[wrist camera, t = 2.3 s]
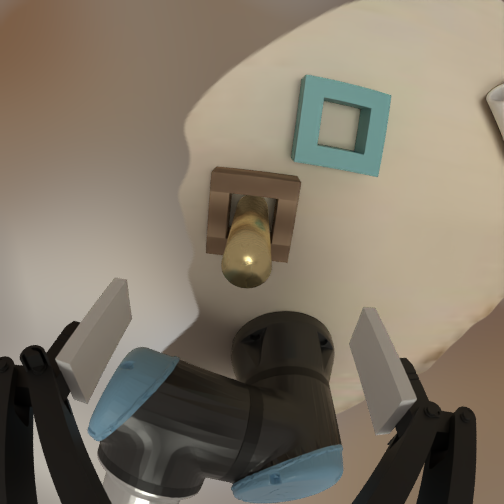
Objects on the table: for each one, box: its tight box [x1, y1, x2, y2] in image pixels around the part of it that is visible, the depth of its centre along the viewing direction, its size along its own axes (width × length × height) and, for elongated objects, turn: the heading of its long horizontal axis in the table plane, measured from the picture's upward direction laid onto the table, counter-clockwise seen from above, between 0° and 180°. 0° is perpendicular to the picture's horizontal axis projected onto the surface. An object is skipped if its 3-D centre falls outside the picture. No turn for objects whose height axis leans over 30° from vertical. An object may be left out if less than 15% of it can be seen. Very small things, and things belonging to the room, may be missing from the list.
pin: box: [221, 195, 272, 288], centre depth 28 cm, size 4×4×14 cm
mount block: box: [206, 167, 301, 263], centre depth 32 cm, size 9×9×4 cm
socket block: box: [291, 75, 391, 177], centre depth 28 cm, size 9×9×4 cm
